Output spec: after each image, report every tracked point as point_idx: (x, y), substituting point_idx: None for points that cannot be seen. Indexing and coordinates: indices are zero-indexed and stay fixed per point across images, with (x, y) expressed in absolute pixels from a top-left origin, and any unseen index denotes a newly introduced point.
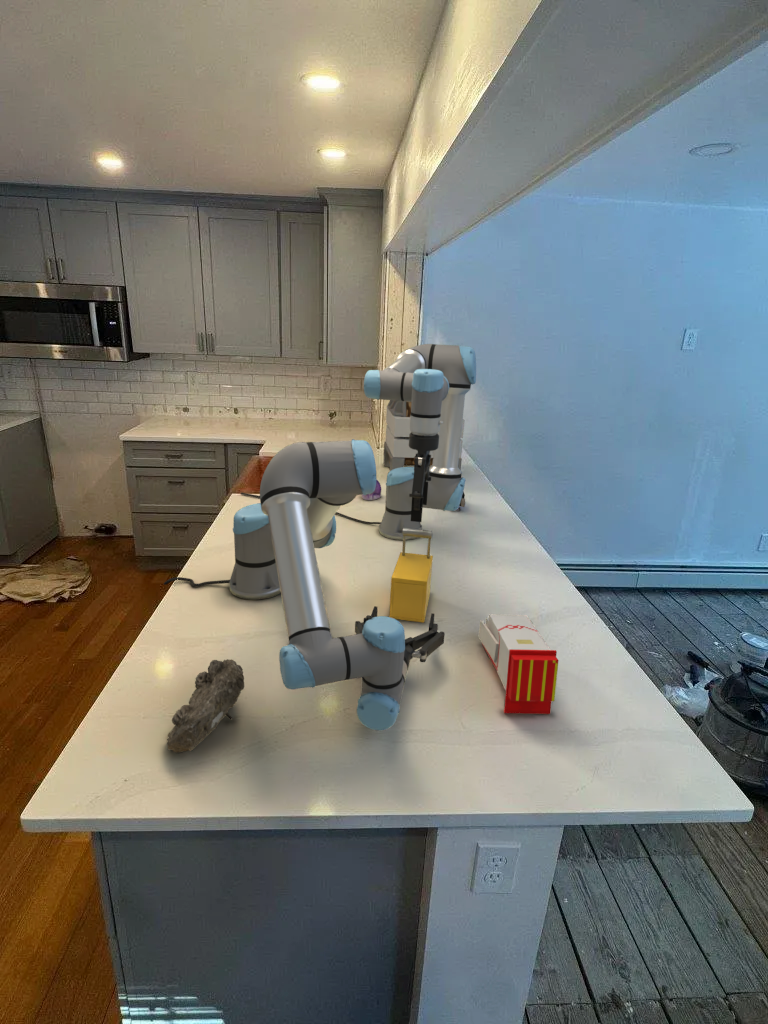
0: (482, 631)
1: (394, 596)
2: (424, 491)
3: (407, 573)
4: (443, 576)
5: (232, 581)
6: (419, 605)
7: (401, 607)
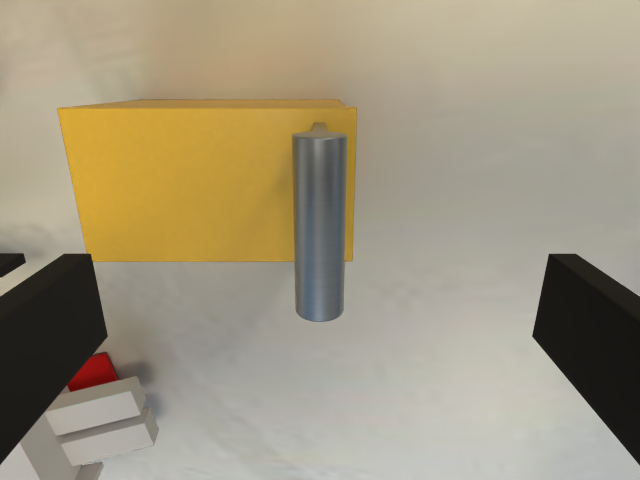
0: None
1: None
2: (623, 404)
3: (128, 175)
4: (474, 240)
5: None
6: None
7: None
